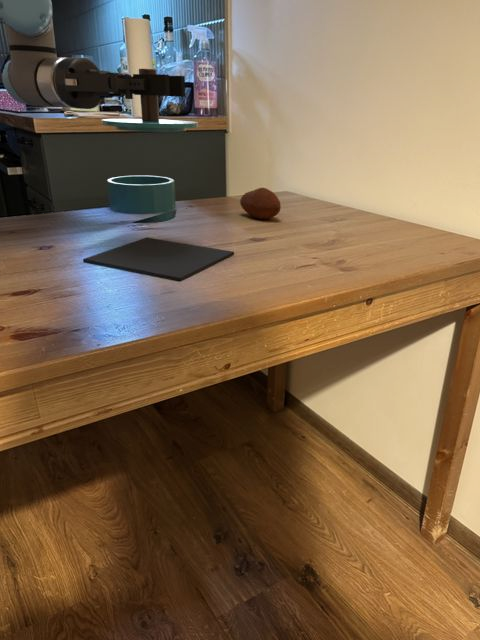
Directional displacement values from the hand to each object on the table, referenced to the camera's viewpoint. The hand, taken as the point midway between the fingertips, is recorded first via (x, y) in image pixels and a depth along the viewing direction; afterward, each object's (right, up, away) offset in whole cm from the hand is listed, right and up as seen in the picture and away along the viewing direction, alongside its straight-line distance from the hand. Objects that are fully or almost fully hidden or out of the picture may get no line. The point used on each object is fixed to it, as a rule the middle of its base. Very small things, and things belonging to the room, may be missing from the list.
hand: (175, 85), depth 72 cm
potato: (+12, -9, +39) cm, 42 cm away
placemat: (-4, -23, +9) cm, 25 cm away
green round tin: (-13, -9, +36) cm, 40 cm away
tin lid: (-5, -3, +5) cm, 8 cm away
